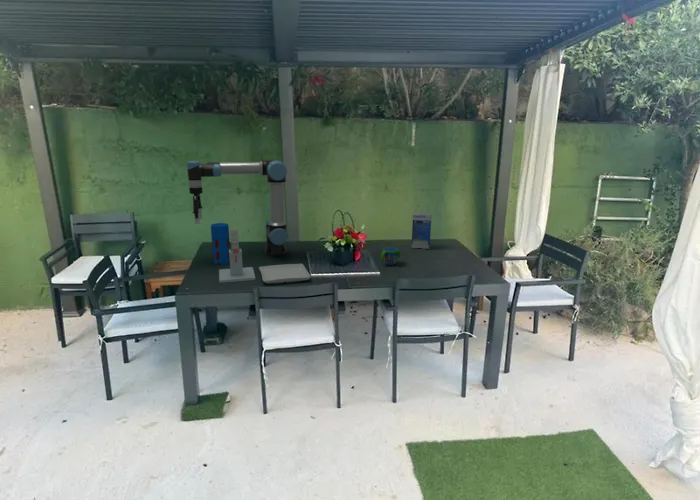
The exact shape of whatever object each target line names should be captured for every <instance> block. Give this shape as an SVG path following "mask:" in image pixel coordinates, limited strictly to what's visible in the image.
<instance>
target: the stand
mask: <svg viewBox="0 0 700 500" xmlns="http://www.w3.org/2000/svg"><path fill="white" fill-rule="evenodd" d="M229 258H230V263H229V268H221V269H218V278H219V279H218V281H219V284H223V283H235V282H236V283H237V282H247V281H256V275H255V272H254V267H253V266H249V267H248V266H247V267H243V266H244V263H243V251H242V248H239V252H238V250H237V251H233V252H232V248H230V250H229Z"/></svg>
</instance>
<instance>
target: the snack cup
mask: <svg viewBox="0 0 700 500" xmlns="http://www.w3.org/2000/svg"><path fill="white" fill-rule="evenodd" d="M400 257H401V252H400V249H399V248H397V247H393V246H389V247H383V248H382V252H381V255H380V261H382V262H384V265H386V264H387V265H386V266H391V265H392V266H395V265H394V264H396V265H397V260H398V258H400Z"/></svg>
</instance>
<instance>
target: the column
mask: <svg viewBox="0 0 700 500" xmlns="http://www.w3.org/2000/svg"><path fill="white" fill-rule="evenodd" d="M238 230H239V229H238V228H234V229H233V228H232V229H229V233H230V249H232V252H233V251H237V250H238V252H239V249H240V246H239V245H240V243H239V233H238V232H239V231H238Z"/></svg>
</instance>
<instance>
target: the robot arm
mask: <svg viewBox="0 0 700 500" xmlns="http://www.w3.org/2000/svg"><path fill="white" fill-rule="evenodd" d="M186 169H187V178H188V181H187V183H188V187H189V194H191V195H193V196H192V200H193V201H192V202H193V203H192V204H193V207H192V208H193V209H192V210H193V211H192V214H193V216H194V224H196V225H197V224H198V225H199V224H201V222H200V221H201V220H203V213H202V209H203V206H202V202H201V194H203V180H202V178H205V177H207V178H208V177H211V178H213V177H215V178H216V177H221V176H222V175H261V176H266V177H267V178H266V179H267V181H266V182H267V183H268V184H269V199H270V200H269V201H270V202H269V203H270V220H268V221H266V223H265V233H266V235H265V237H266V238H265V239H266V244H265V247H264V252H263V253H264V255H266V256H268V257H269V256H270V257H278V256H283V255H286V254H287V247H286V245H285V243H287V241H288V237H289V235H288V231H287V223H286V221H285V205H284V203H285V202H284V197H285V195H284V192H285V191H284V184H286V183H287V180H286V179H287V177H286V176H287V172H288V171H287V166H286V164H285V163H283V162H282V161H280V160H278V159H264V160H260V161H238V162H237V161H236V162H235V161H234V162H233V161H229V162H223V161H221V162H218V161H217V162H214V161H208V162H207V163H206V164H203V163H201V162H200V160H189V161H187V164H186Z"/></svg>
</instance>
